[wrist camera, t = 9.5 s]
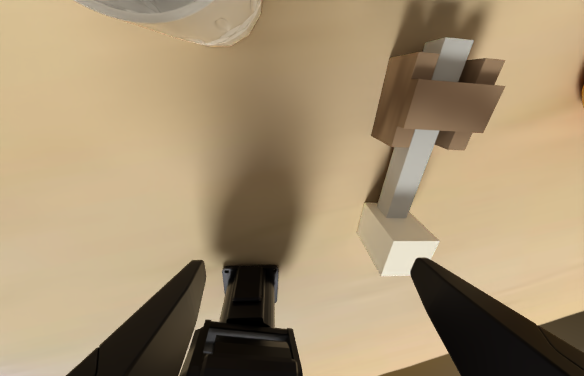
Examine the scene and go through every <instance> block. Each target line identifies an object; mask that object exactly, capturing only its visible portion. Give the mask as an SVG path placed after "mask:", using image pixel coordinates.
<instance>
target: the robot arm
mask: <svg viewBox="0 0 584 376" xmlns="http://www.w3.org/2000/svg"><path fill="white" fill-rule="evenodd" d="M274 269H275V270H274ZM227 270H228V271H227ZM222 274H223V283H224V291H225V299H224V303H223V307H222V312H221V316H220V321H219V322H214V321H211V320H205V323H204V327H202V328H200V329H198V330H195V333H194V336H193V339H192V343H191V346H190V349H189V352H188V354H187V357H186V360H185V362H184V365H183V367H182V370H181V373H180V375H179V372H180V369H181V366H182V363H183V360H184V357H185V354H186V351H187V348H188V345H189V342H190V339H191V336H192V333H193V330H194V327H195V324H196V321H197V317H198V313H199V308H200V304H201V299H202V295H203V290H204V286H205V282H206V271H205V265H204V261H203V260H192V261H191V262H190V263H189V264H187V265H186V266H185V267H184V268H183V269H182V270H181V271H180V272H179V273H178V274H177V275H175V276H174V277H173V278H172V279H171V280H170V281H169V282H168V283H167V284H166V285H165V286H164V287H162V288H161V289H160V290H159V291H158V292H157V293H156V294H155V295H154V296H153V297H152V298H150V299H149V300H148V301H147V302H146V303H145V304H144V305H143V306H142V307H141V308H140V309H139V310H137V311H136V312H135V313H134V314H133V315H132V316H131V317H130V318H129V319H128V320H127V321H125V322H124V323H123V324H122V325H121V326H120V327H119V328H118V329H117V330H116V331H115V332H113V333H112V334H111V335H110V336H109V337H108V338H107V339H106V340H105V341H104V342H103V343H102V344H100V346H99V348H96V349H95V350H94V351H93V352H92V353H91V354H89V355H88V356H87V357H86V358H85V359H84V360H83V361H82V362H81V363H80V364H78V365H77V366H76V367H75V368H74V369H73V370H72V371H71V372H69V373H68V374H67V375H66V376H178V375H179V376H303V373H302V367H301V363H300V359H299V354H298V350H297V346H296V341H295V337H294V333H293V329H291V328H287V329H281V328H275V307H274V303H276V302H277V289H278V266H276V265H261V266H225V267H224V268H223V270H222ZM410 274H411V278H412V280H413V282H414V285H415V287H416V289H417V291H418V294H419V296H420V298H421V301H422V303H423V305H424V307H425V310H426V312H427V314H428V316H429V318H430V319H431V321H432V323H433V325H434V327H435V329H436V331H437V332H438V334H439V336H440V338H441V340H442V342H443V343H444V345H445V347H446V349H447V351H448V353H449V354H450V356H451V358H452V360H453V362H454V364H455V365H456V367H457V369H458V371H459V373H460V375H461V376H584V352H582V351H580V350H578V349H576V348H575V347H573V346H572V345H570V344H568V343H566V342H565V341H563V340H561V339H560V338H558V337H556V336H555V335H553V334H551V333H550V332H548V331H547V330H545V329H543V328H542V327H540V326H538V325H536V324H535V323H534V322H532V321H530V320H529V319H527V318H525V317H524V316H522V315H520V314H519V313H517V312H515V311H514V310H512V309H511V308H509V307H507V306H506V305H504V304H502V303H501V302H499V301H497V300H496V299H494V298H493V297H491V296H489V295H488V294H486V293H484V292H483V291H481V290H479V289H478V288H476V287H474V286H473V285H471V284H470V283H468V282H466V281H465V280H463V279H461V278H460V277H458V276H456V275H455V274H453V273H451V272H450V271H448V270H447V269H445V268H443V267H442V266H440V265H438V264H437V263H435V262H433V261H432V260H430V259H429V258H425V257H419V258H416V259H415V261H414V264H413V266H412V268H411V271H410Z"/></svg>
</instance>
